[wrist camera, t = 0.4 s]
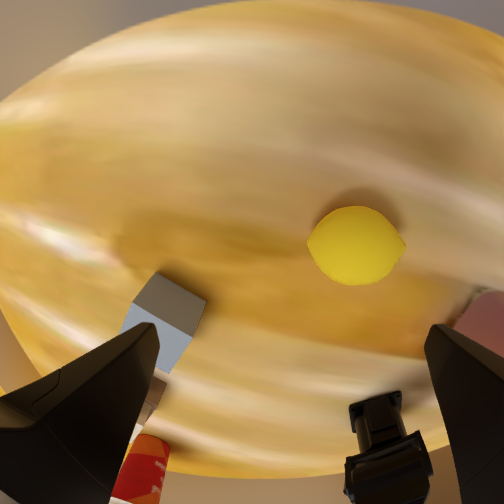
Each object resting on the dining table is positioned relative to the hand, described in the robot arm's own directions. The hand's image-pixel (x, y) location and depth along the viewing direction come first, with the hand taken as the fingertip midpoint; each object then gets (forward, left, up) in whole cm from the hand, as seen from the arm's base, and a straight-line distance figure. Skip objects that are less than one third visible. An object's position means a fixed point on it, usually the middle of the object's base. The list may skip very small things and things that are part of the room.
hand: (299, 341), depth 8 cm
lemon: (-2, -4, -14) cm, 15 cm away
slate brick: (-5, +12, -14) cm, 19 cm away
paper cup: (-28, +28, -14) cm, 42 cm away
